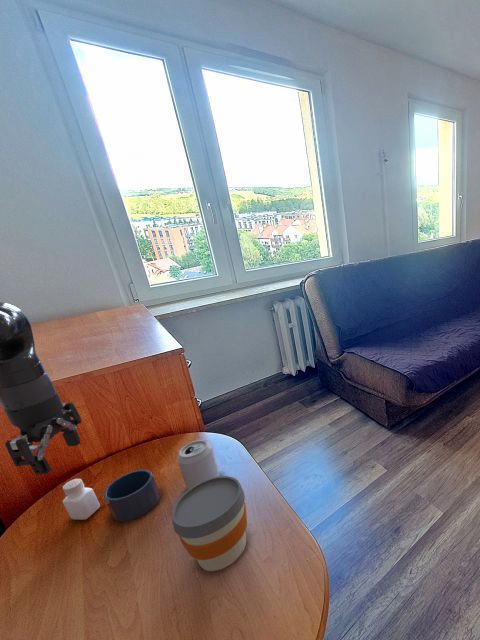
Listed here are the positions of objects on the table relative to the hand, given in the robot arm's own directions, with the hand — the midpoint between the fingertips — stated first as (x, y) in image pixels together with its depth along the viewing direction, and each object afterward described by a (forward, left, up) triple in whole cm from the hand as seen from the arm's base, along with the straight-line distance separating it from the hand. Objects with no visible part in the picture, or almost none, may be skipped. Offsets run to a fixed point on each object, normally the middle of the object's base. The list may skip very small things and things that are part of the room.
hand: (60, 458), depth 75 cm
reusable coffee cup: (+6, -39, -17) cm, 43 cm away
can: (+17, -18, -17) cm, 30 cm away
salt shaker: (0, 0, -17) cm, 17 cm away
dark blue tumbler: (+6, -9, -17) cm, 20 cm away
